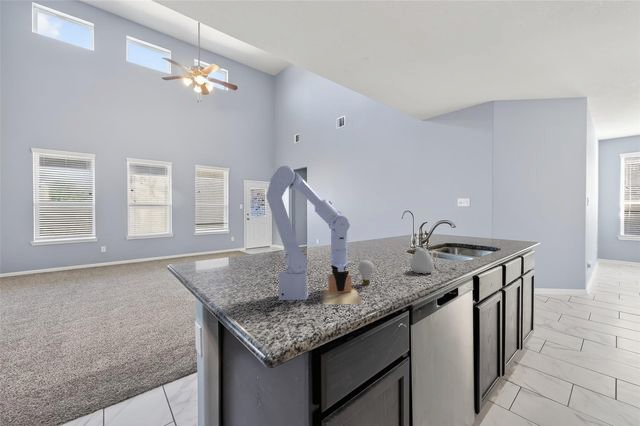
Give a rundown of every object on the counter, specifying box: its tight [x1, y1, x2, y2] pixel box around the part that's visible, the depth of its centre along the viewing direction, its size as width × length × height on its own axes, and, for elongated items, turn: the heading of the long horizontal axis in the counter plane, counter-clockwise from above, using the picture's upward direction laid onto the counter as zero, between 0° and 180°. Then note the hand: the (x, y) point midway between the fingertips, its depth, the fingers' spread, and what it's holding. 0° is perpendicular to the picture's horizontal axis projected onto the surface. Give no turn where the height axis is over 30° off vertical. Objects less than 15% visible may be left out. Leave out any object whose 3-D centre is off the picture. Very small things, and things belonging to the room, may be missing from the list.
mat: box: [322, 286, 363, 306], centre depth 91 cm, size 12×18×1 cm, turn 0°
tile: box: [327, 273, 352, 293], centre depth 95 cm, size 8×2×6 cm, turn 90°
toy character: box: [410, 246, 435, 275], centre depth 126 cm, size 10×10×12 cm
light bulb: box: [358, 259, 375, 286], centre depth 104 cm, size 6×6×10 cm
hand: (339, 287), depth 95 cm, fingers open, 7 cm apart
